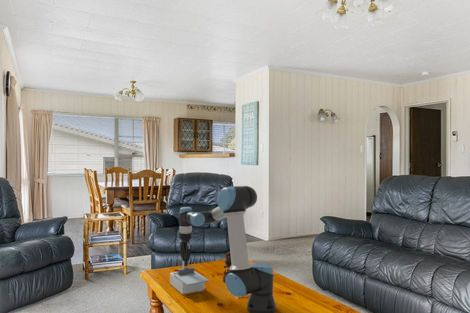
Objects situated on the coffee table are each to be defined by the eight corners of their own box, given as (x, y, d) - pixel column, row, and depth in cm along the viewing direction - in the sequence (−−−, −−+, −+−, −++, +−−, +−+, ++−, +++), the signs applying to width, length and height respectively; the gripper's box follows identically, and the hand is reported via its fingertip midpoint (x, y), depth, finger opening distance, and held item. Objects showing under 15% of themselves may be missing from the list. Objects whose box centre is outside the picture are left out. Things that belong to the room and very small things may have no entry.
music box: (231, 285, 223) (229, 252, 224) (218, 283, 230) (216, 251, 231) (246, 279, 235) (244, 248, 236) (232, 277, 242) (231, 246, 243)
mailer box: (204, 290, 214) (204, 278, 214) (182, 295, 206) (182, 282, 206) (190, 280, 231) (190, 269, 231) (169, 284, 224) (170, 273, 224)
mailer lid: (209, 281, 208) (209, 275, 209) (186, 285, 201) (186, 278, 201) (194, 271, 226) (194, 266, 226) (173, 275, 218) (173, 269, 218)
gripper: (175, 231, 225) (175, 269, 225) (184, 235, 214) (183, 274, 214) (186, 230, 229) (186, 267, 229) (195, 233, 218) (195, 272, 218)
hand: (185, 270), depth 221 cm, fingers closed
